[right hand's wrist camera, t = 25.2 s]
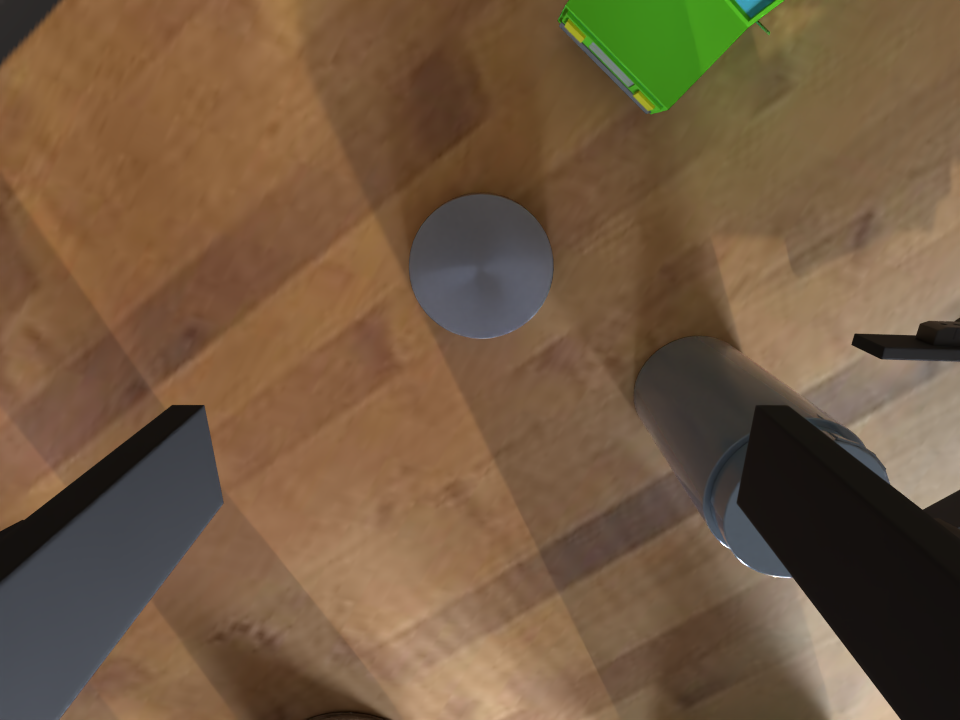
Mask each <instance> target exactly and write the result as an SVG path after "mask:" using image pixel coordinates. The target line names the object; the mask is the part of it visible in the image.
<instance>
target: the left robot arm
mask: <svg viewBox="0 0 960 720" xmlns="http://www.w3.org/2000/svg"><path fill="white" fill-rule="evenodd" d="M852 345H853V346H855V347H857V348H859V349H861V350H863V351H865V352H867V353H869V354H871V355H874V356H876V357H878V358H880V359H889V360H923V361H957V362H960V318H959V319H957V320H956V321H955V322H947V321H946V322H944V321H927V322H924V323H921V324H920V325H919V328H918V331H917V334H916V336H915V335H882V334H854V338H853V341H852ZM923 511H925V512H926V513H927V514H928V515H930V516H931V517H932V518H939V519H941V520H943V521H945V522H947V523H949V524H951V525H953V526H955V527H957V528H959V529H960V490H958V491H957V492H955V493H953V494H951V495H949V496H947V497H946V498H944V499H942V500H940V501H938V502H936V503H935V504H933V505H931V506H929V507H927V508H925V509H924V510H923Z"/></svg>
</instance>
